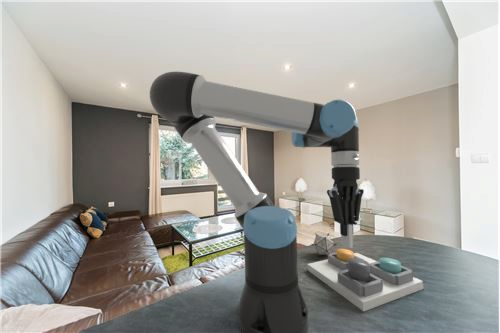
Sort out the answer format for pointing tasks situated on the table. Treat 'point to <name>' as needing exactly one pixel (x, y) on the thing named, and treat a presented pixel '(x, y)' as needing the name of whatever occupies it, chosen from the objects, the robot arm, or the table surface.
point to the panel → (365, 282)
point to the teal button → (390, 265)
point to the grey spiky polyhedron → (323, 244)
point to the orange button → (344, 254)
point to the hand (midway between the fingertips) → (347, 246)
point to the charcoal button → (359, 269)
